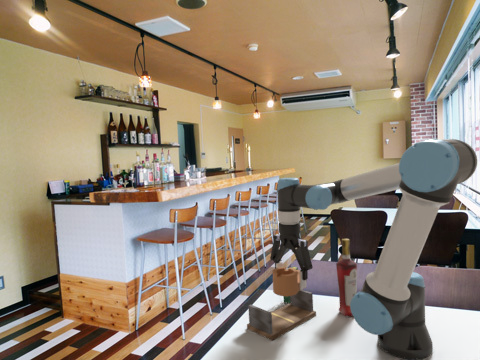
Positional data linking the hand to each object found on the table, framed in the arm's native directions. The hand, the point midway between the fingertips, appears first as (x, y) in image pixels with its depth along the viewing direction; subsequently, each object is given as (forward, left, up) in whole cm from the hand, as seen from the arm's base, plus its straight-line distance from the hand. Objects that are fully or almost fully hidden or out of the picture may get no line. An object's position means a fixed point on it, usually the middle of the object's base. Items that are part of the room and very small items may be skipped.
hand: (291, 284), depth 123 cm
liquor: (-10, -20, -15) cm, 27 cm away
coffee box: (+14, -16, -15) cm, 26 cm away
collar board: (+4, +1, -15) cm, 15 cm away
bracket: (0, +1, -1) cm, 1 cm away
